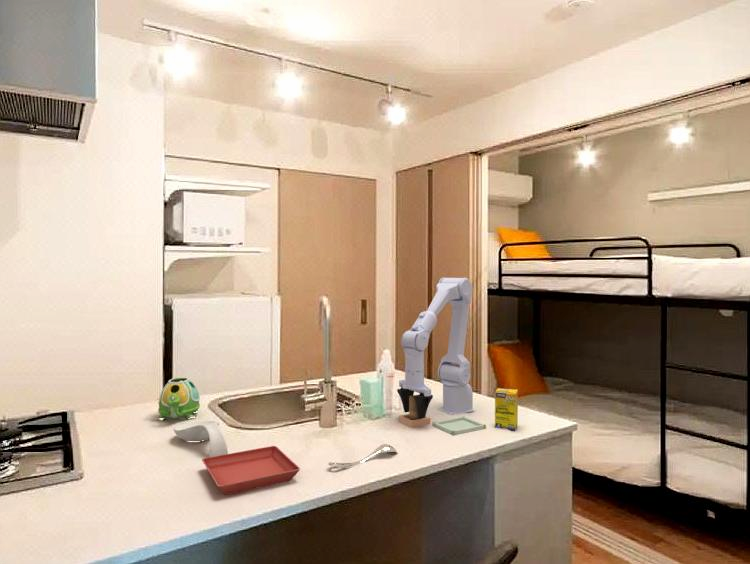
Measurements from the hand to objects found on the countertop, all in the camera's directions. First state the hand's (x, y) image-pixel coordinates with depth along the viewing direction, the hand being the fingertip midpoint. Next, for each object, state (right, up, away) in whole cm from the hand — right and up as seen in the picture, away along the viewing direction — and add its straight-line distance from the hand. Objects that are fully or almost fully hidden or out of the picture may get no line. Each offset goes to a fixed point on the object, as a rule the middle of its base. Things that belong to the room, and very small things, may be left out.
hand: (414, 414), depth 154 cm
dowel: (0, -2, 0) cm, 2 cm away
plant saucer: (-41, -5, -38) cm, 56 cm away
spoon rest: (-58, -4, -17) cm, 61 cm away
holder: (0, -3, 0) cm, 3 cm away
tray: (+13, -3, -4) cm, 14 cm away
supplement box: (+27, -3, -3) cm, 27 cm away
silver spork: (-15, -4, -29) cm, 33 cm away
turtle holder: (-74, -3, +7) cm, 75 cm away
